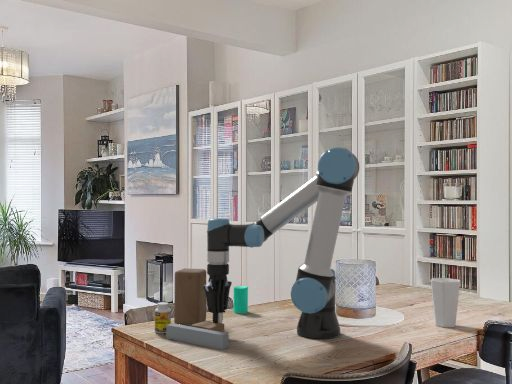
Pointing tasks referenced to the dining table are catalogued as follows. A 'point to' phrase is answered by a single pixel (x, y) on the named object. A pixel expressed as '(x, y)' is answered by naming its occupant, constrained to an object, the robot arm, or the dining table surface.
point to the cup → (445, 300)
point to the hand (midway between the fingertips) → (217, 331)
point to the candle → (240, 299)
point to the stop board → (197, 336)
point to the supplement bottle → (162, 317)
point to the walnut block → (210, 326)
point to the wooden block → (190, 296)
